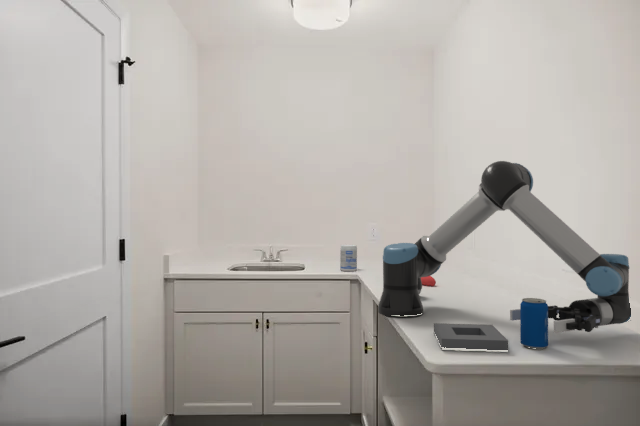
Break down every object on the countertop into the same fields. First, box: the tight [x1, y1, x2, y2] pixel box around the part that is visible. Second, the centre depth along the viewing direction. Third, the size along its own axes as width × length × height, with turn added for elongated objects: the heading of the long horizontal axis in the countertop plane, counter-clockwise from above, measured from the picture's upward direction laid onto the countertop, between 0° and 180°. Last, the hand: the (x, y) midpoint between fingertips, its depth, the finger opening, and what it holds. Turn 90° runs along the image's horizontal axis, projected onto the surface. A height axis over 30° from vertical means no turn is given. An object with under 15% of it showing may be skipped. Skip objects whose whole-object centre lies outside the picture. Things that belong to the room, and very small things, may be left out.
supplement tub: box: [339, 244, 358, 272], centre depth 269 cm, size 10×10×15 cm
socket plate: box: [433, 322, 509, 351], centre depth 123 cm, size 16×16×3 cm
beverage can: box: [519, 297, 549, 350], centre depth 119 cm, size 6×6×12 cm
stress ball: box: [421, 275, 437, 287], centre depth 217 cm, size 5×9×6 cm, turn 17°
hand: (531, 320), depth 119 cm, fingers open, 13 cm apart
